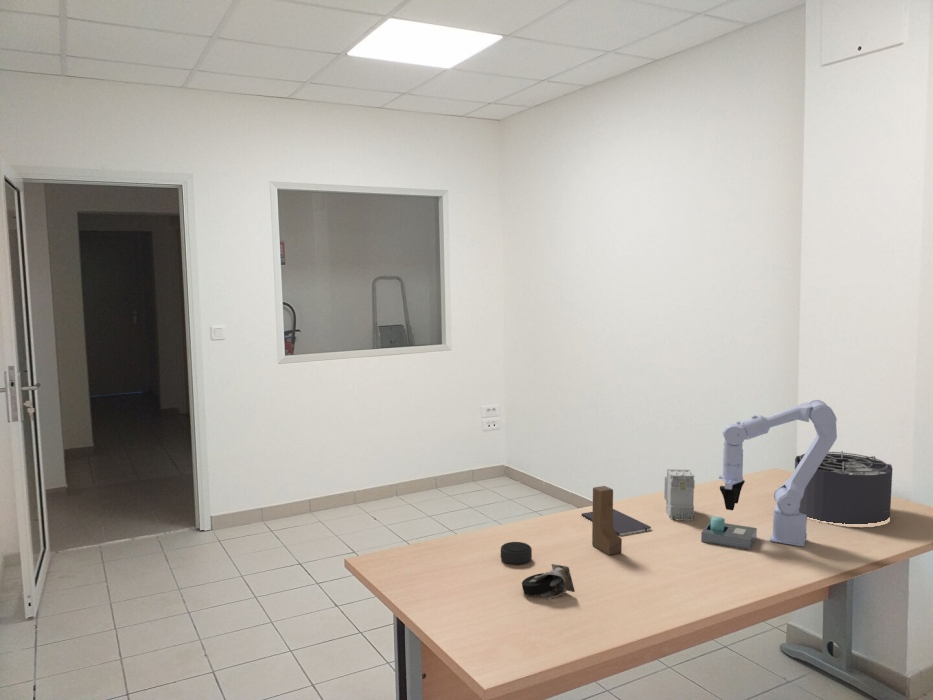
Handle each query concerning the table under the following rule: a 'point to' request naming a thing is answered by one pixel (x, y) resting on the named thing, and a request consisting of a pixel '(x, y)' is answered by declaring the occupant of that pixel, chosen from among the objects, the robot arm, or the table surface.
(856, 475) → the ventilation fan
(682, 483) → the circuit breaker
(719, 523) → the barrel peg
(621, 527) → the notebook
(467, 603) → the table surface
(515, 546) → the smart speaker
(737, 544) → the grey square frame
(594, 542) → the wooden block
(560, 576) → the caster wheel
